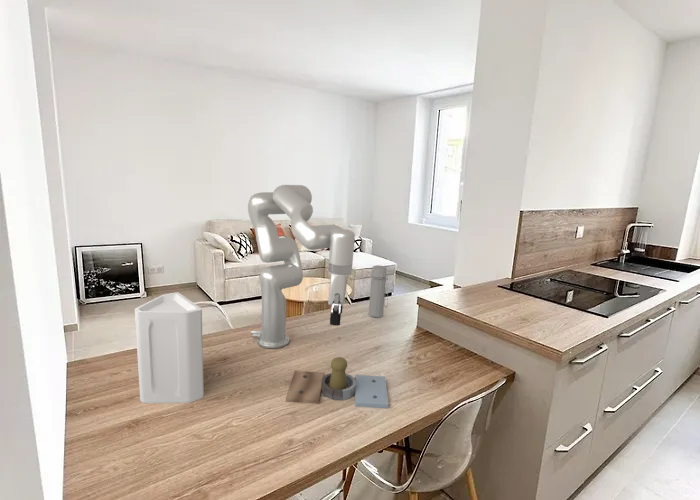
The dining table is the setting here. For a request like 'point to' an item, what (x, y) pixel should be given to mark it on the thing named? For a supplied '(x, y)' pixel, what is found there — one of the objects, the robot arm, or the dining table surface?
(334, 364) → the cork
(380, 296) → the water bottle
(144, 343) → the white triangular canister
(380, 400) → the leaf
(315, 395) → the leaf
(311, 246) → the robot arm
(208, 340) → the dining table surface
